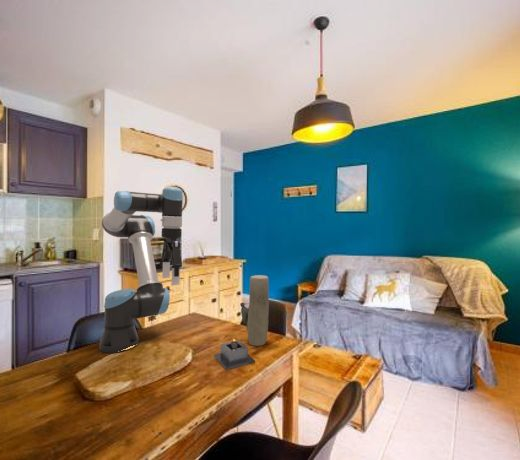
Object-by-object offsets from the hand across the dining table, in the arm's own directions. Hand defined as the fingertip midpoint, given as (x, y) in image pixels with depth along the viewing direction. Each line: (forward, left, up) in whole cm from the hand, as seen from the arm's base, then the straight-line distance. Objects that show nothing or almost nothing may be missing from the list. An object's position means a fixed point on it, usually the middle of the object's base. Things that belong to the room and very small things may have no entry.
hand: (170, 281), depth 111 cm
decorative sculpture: (+3, +37, -30) cm, 48 cm away
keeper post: (+14, +22, -30) cm, 40 cm away
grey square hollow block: (+14, +22, -29) cm, 39 cm away
